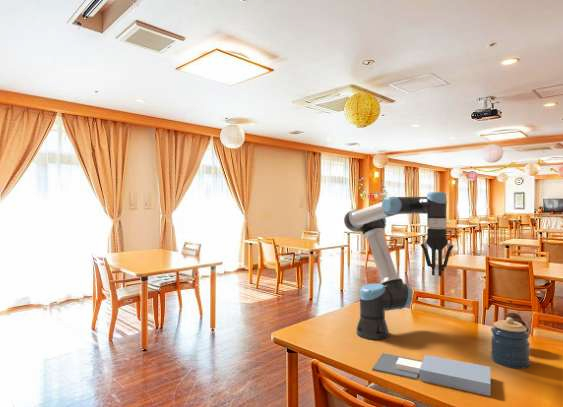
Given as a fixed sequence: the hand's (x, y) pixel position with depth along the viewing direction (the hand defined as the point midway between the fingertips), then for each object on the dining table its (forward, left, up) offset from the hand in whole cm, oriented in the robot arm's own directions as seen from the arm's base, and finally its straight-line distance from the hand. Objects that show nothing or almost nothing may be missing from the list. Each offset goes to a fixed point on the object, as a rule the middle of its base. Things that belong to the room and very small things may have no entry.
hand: (436, 283), depth 155 cm
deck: (+8, -23, -29) cm, 38 cm away
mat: (-12, -22, -29) cm, 38 cm away
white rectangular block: (-7, -23, -28) cm, 37 cm away
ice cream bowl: (+28, +19, -29) cm, 45 cm away
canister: (+26, +3, -29) cm, 39 cm away
